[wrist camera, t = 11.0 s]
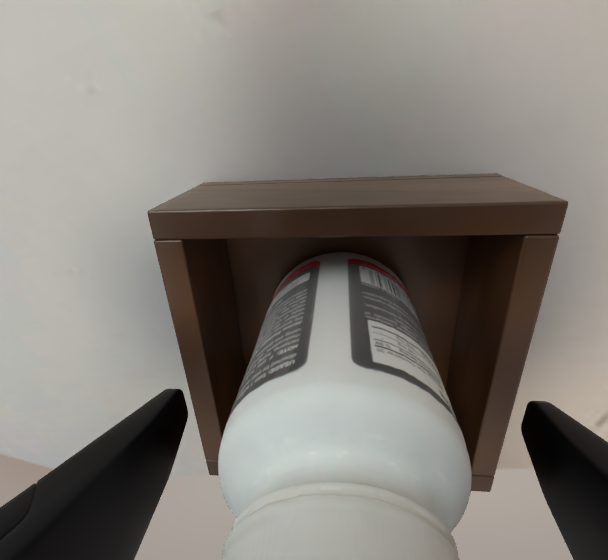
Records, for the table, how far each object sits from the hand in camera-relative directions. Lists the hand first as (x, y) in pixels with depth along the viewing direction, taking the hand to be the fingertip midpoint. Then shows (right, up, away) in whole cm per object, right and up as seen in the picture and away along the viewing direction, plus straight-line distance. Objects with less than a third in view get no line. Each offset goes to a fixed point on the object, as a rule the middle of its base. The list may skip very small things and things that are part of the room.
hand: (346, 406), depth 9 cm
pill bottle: (0, +2, +5) cm, 5 cm away
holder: (+1, +2, +5) cm, 6 cm away
